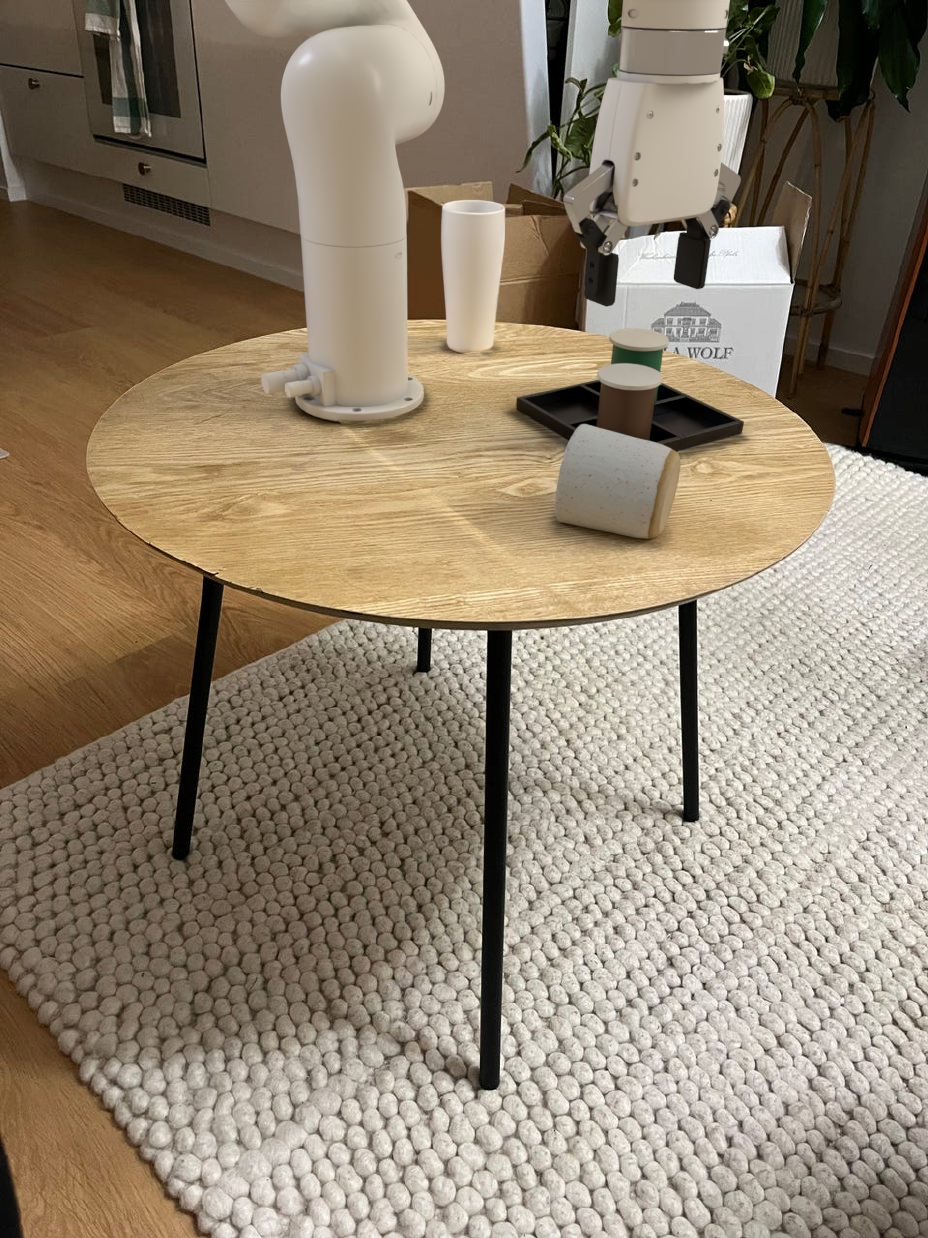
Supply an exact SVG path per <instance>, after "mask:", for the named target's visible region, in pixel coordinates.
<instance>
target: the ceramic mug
mask: <svg viewBox="0 0 928 1238" xmlns="http://www.w3.org/2000/svg"><path fill="white" fill-rule="evenodd" d="M681 460H682V459H681V457H680V454H679V453H678V452H676V451H675V450H673V449H671V448H669V447H666V446H664V445H662V444H659V443H656V442H652V441H648V440H643V439H639V438H635V437H631V436H628V435H624V434H620V433H617V432H613V431H609V430H606V429H602V428H598V427H594V426H591V425H587V424H581V425H579V427H577V429H576V430H575V432H574V433H573V435H572V437H571V438H570V440H569V441H568V443H567V445H566V448H565V450H564V454H563V457H562V461H561V465H560V468H559V472H558V477H557V482H556V489H555V496H554V514H555V515H554V516H555V518H556V520H557V521H558V522H559V523H563V524H566V525H572V526H576V527H581V528H586V529H590V530H595V531H601V532H607V533H612V534H616V535H620V536H625V537H629V538H634V539H646V540H647V539H648V540H652V539H655V538H657V537H659V536H660V535H661V534H662V533H663V531H664V530H665V528H666V524H667V522H668V519H669V517H670V513H671V510H672V507H673V505H674V500H675V496H676V492H677V488H678V484H679V479H680V472H681V467H682V466H681V464H682V463H681V462H682V461H681Z"/></svg>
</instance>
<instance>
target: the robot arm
mask: <svg viewBox="0 0 928 1238" xmlns="http://www.w3.org/2000/svg"><path fill="white" fill-rule="evenodd" d="M730 1H731V0H622V10H621V20H620V21H621V22H620V26H621V27H620V36H619V46H618V47H619V48H618V59H617V60H618V62H617V72H616V77H609V78H608V79H607V83H606V85H605V89H604V92H603V95H602V99H601V103H600V107H599V111H598V116H597V121H596V127H595V131H594V136H593V137H594V138H593V142H592V150H591V156H590V157H591V158H590V165H589V171H588V172H589V173H588V175H587V176H586V177H585V178H584V179H582V180H581V181H580V182H578V184H576V185H574V187H572V188H571V189H570V190H568V191H567V192H566V193H564V196H563V199H562V202H563V205H564V208H565V211H566V214H567V217H568V220H569V221H570V224H569V225H570V229H571V231H572V232H573V234H574V236H575V237H576V238H577V239H578V240H579V243H580V247H581V248H582V249H586V254H585V255H586V257H585V268H584V269H585V270H584V281H583V282H584V286H583V287H584V288H583V289H584V290H583V296H584V298H585V299H586V300H588V301H591V302H593V303H596V304H597V305H598V304H599V305H600V306H603V307H611V306H613V305H614V304H615V302H616V297H617V296H616V294H617V284H618V283H617V282H618V274H619V273H618V272H619V261H620V258H619V254H617V253H614V252H613V251H614V250H615V249H616V247H617V245H618V244H619V243H620V240H621V239H622V238H623V236H624V235H625V233H626V231H627V230H628V228H629V227H641V226H648V225H656V224H663V223H669V222H670V223H671V222H675V221H676V222H677V221H680V222H681V223H682V226H683V227H684V229H685V231H684V232H682V231H681V232H679V235H678V237H677V246H676V255H675V263H674V269H673V270H674V271H673V281H674V282H675V283H677V284H680V285H683V286H686V287H689V288H691V289H695V290H701V289H704V288H705V286H706V280H707V279H706V278H707V272H708V265H709V257H710V250H711V243H712V240H713V239H715V238H716V237H717V236H718V235H719V232H720V227H719V225H720V224H721V223H722V221H724V219H725V218H726V216H727V215H728V214H729V212H730V209H731V202H733V199H734V197H735V195H736V193H737V191H738V189H739V187H740V185H741V181H742V178H741V176H740V175H739V174H738V173H737V172H735V171H734V170H733V169H731V168H730V167H729V166H727V165H725V163H723V162H722V157H723V156H722V155H723V145H724V127H725V125H724V124H725V91H724V88H725V87H724V78H723V77H721V71H722V63H723V57H725V56H726V54H727V53H728V52H729V47H730V44H729V39H728V38H726V33H727V29H726V28H727V27H728V19H729V18H728V17H729V9H730V3H731V2H730ZM224 2H225V3H226V5H227V6H228V8H229V9H230V10H231V12H232V14H233V15H234V16H235V17H236V19H237V20H238V21H239V22H240V24H241V25H243V27H245V28H246V29H248V30H249V31H250V32H252V33H254V34H256V35H259V36H261V37H264V38H273V39H286V38H287V39H288V38H298V37H307V36H308V37H309V38H307V39H306V40H305V41H303V42H302V43H301V44H299V46H298V47H297V48H296V49H295V51H294V52H293V53H292V55H291V56H290V58H289V59H288V61H287V63H286V66H285V69H284V73H283V74H282V75H283V76H282V79H281V85H280V86H281V87H280V108H281V115H282V120H283V126H284V130H285V135H286V137H287V138H286V139H287V142H288V148H289V151H290V155H291V160H292V165H293V166H292V167H293V171H294V178H295V185H296V195H297V206H298V218H299V233H300V234H299V235H300V245H301V258H302V261H301V262H302V275H303V289H304V290H303V291H304V292H303V293H304V306H305V320H306V336H307V337H306V338H307V352H304V353H299V354H298V363H297V364H293V365H292V366H291V368H290V369H288V370H275V371H270V372H264V373H262V374H261V376H260V383H261V387H262V390H263V392H264V393H265V395H269V394H270V395H271V394H275V393H280V392H285V395H286V397H287V398H288V399H291V398H295V403H296V405H297V406H298V408H300V409H301V410H302V411H303V412H305V413H306V414H308V415H310V416H313V417H316V418H319V419H322V420H327V421H331V422H338V423H339V422H340V421H351V422H352V421H354V422H355V421H356V422H364V421H378V420H384V419H385V420H386V419H390V418H394V417H399V416H402V415H404V414H408V413H409V412H412V411H413V410H415V409H416V408H418V407H419V406H420V405H421V404H422V403H423V401H424V398H425V389H424V386H423V384H422V382H420V381H419V380H418V379H417V378H416V377H414V376H412V375H411V374H409V363H408V362H409V354H408V353H409V347H408V345H409V344H408V343H409V342H408V340H409V339H408V337H409V335H408V333H409V331H408V329H409V328H408V324H409V323H408V239H407V238H408V234H407V206H406V195H405V187H404V182H403V178H402V174H401V170H400V164H399V160H398V157H397V156H398V155H397V150H396V146H397V145H400V144H403V143H405V142H408V141H411V140H414V139H416V138H418V137H419V136H421V135H422V134H424V133H425V132H426V131H428V130H429V129H431V127H432V125H433V124H434V123H435V121H436V120H437V118H438V116H439V115H440V113H441V111H442V106H443V104H444V99H445V91H446V89H445V86H446V83H445V74H444V69H443V65H442V62H441V59H440V57H439V54H438V52H437V50H436V48H435V45H434V43H433V41H432V40H431V38H430V36H429V34H428V33H427V31H426V29H425V28H424V26H423V24H422V23H421V21H420V19H419V18H418V17H417V14H416V13H415V12H414V10H413V7H412V6H411V5H410V3H409V2H408V0H224ZM592 216H593V218H592ZM608 226H609V227H608ZM605 230H606V231H605Z"/></svg>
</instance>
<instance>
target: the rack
mask: <svg viewBox="0 0 928 1238" xmlns="http://www.w3.org/2000/svg"><path fill="white" fill-rule="evenodd" d="M600 390H601V382H600V381H599V380H598V379H595V380H590V381H587V382H586V381H585V382H581V383H577V384H571V385H568V386H563V387H559V388H554V389H549V390H544V391H540V392H536V393H531V394H526V395H522V396H518V397H516V404H515V411H516V412H519V413H520V414H522V415H524V416H525V417H527V418H529V419H531V420H533V421H534V422H536V423H537V424H539V425H541V426H542V427H544V428H546V429H548V430H549V431H551V432H553V433H554V434H556V435H558V436H560V437H562V438H563V439H565V440H566V441H568V442H569V440H570V438H571V437H572V435H573V433H574V432H575V430H576V429H577V427H579V425H581V424H587V425H591V426H594V427H597V418H598V409H599V399H600ZM744 424H745V421H744V420H741V419H739V418H738V417H736V416H733V415H731V414H729V413H727V412H725V411H723V410H721V409H719V408H716V407H714V406H712V405H710V404H708V403H706V402H705V401H704V402H703V401H701V400H699V399H697V398H695V397H693V396H691V395H689V394H686V393H684V392H682V391H680V390H678V389H676V388H674V387H672V386H670V385H667V384H665V383H663V382H662V383H661V384H660V385H659V386H658V392H657V399H656V402H654V409H653V416H652V424H651V431H650V438H649V441H652V442H656V443H659V444H662V445H664V446H666V447H669V448H671V449H673V450H675V451H676V452H677V453H678V452H682V451H685V450H689V449H692V448H696V447H697V448H698V447H700V446H703V445H707V444H711V443H715V442H718V441H722V440H725V439H729V438H733V437H737V436H740V435H743V430H744Z"/></svg>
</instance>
